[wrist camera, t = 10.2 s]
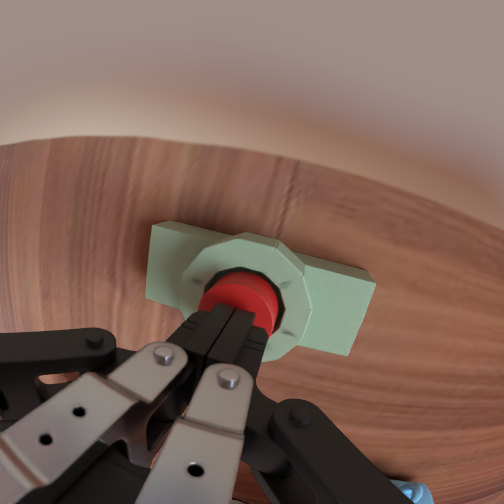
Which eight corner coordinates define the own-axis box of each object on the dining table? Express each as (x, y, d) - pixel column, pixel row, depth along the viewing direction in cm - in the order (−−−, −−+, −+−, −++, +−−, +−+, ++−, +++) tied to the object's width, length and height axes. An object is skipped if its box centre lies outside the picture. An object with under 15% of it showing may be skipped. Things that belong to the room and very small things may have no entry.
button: (206, 323, 13) (192, 340, 12) (216, 262, 13) (203, 274, 11) (268, 342, 13) (263, 362, 11) (286, 281, 12) (282, 296, 10)
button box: (160, 297, 18) (127, 322, 14) (172, 206, 16) (135, 212, 12) (339, 348, 16) (344, 388, 12) (372, 256, 15) (391, 278, 11)
